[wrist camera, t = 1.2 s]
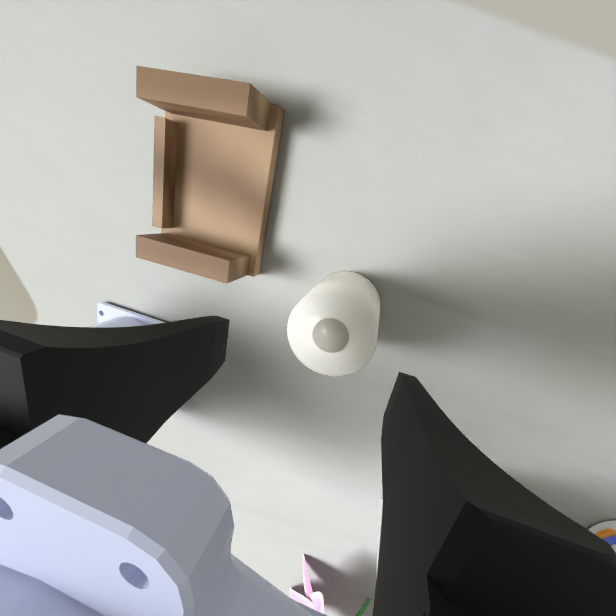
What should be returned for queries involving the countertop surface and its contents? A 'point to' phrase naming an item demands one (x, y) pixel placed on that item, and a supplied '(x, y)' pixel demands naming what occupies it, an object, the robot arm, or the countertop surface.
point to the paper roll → (336, 324)
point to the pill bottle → (606, 532)
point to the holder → (209, 173)
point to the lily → (314, 595)
